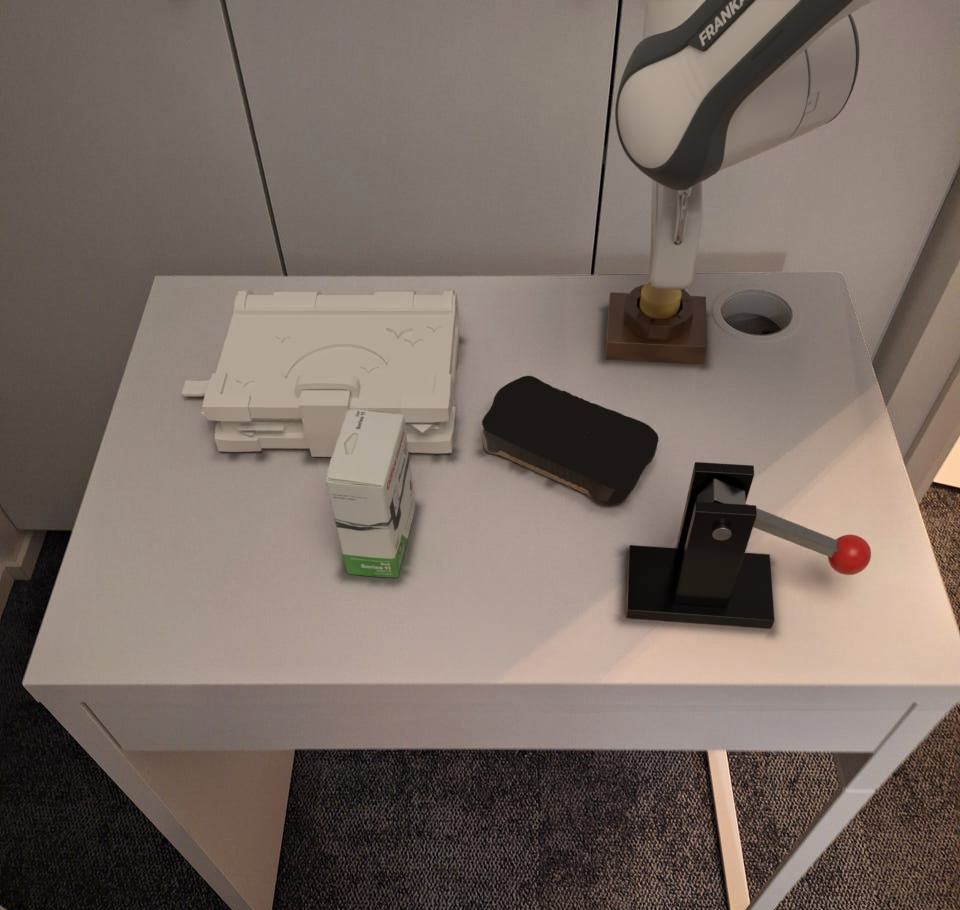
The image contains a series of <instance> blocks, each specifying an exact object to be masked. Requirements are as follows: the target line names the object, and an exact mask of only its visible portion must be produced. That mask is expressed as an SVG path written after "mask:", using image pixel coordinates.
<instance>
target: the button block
mask: <svg viewBox="0 0 960 910" xmlns="http://www.w3.org/2000/svg"><path fill="white" fill-rule="evenodd" d="M644 285H645V284H640V285H639V286H635V287H634V288H633V289H632V290H631V291H630V292H614V291H613V292H609V299H608V311H607V326H606V341H605V360H613V361H637V362H638V361H639V362H654V363H655V362H656V363H675V364H695V365H696V364H698V365H704V364H705V360H706V356H707V351H708V319H707V317H708V316H707V296H705V295H704V296H703V295H690V293H688V291H687V289H684V290H681V293H682V295H681V301H680V307H679V310H678V312H677V313H676V314H675V315H674V316H672V317H670V318H667V319H658V318H651V317H649V316H647V315H645V314H644V313H643V312H642V311H641V309H640V298H641V290H642V288H643V286H644Z"/></svg>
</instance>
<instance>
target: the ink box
mask: <svg viewBox="0 0 960 910" xmlns="http://www.w3.org/2000/svg"><path fill="white" fill-rule="evenodd" d="M325 484H326V489H327V493H328V497H329V503H330V506H331V507H330V508H331V511H332V516H333V520H334V523H335V529H336V532H337V537H338V543H339V546H340V550H341V554H342V559H343V563H344V567H345V571H346V573H347V574H348V575H355V576H356V575H357V576H365V577H375V578H398V577H399V575H400V571H401V568H402V562H403V560H404V555H405V552H406V547H407V543H408V539H409V536H410V535H409V534H410V531H411V526H412V523H413V518H414V515H415V511H416V503H415V496H414V495H415V494H414V486H413V478H412V468H411V461H410V452H408V443H407V434H406V425H405V417H404V414H401V413H395V412H389V411H381V410H373V409H363V408H354V407H353V408H351V409H350V410H349V411H348V412H347V413H346V416H345V420H344V422H343V425H342V428H341V432H340V435H339V437H338V440H337V442H336V445H335V450H334V453H333V455H332V457H330V461H329V465H328V468H327V471H326V476H325Z"/></svg>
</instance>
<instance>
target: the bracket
mask: <svg viewBox="0 0 960 910" xmlns="http://www.w3.org/2000/svg"><path fill="white" fill-rule="evenodd" d="M754 477H755V465H752V464H738V463H737V464H735V463H732V464H731V463H719V462H699V461H695V462H694V465H693V469H692V474H691V478H690V482H689V487H688V491H687V496H686V501H685V505H684V509H683V514H682V518H681V522H680V527H679V531H678V536H677V541H676V545H675V547H669V546H668V547H666V546H651V545H639V544H638V545H637V544H635V545H634V544H630V545H629V546H628V552H627V556H628V557H627V575H626V576H627V577H626V578H627V580H626V609H625V610H626V612H625V618H626V619H633V620H648V621H661V622H674V623H687V624H688V623H689V624H703V625H713V626H714V625H716V626H728V627H729V626H730V627H743V628H756V629H770V630H771V629H772V627H773V625H774V623H775V621H776V620H775V607H774V593H773V580H772V579H773V578H772V564H771V554H770V553H757V552H746V551H747V547H748V544H749V541H750V538H751V535H752V531H753V530H754V529H753V528H754V527H753V526H754V523H755V520H756V516H757V510H756V508H757V505H754V504H748V505H741V504H725V503H709V502H697V496H698V494H699V493H700V492H701V491H702V490H703V489H704V488H705V487H706V486H707V485H708V484H709V483H710V482H711V481H712V480H713V479H714V478H715V479H717V480H720V481H722V482H725V483H727V484H730V485H732V486H735V487H737V488H740V489H742V490H744V491H745V501H746V502H747V500H748V497H749V493H750V491H751V487H752V484H753V481H754Z"/></svg>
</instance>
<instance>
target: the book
mask: <svg viewBox="0 0 960 910" xmlns="http://www.w3.org/2000/svg"><path fill="white" fill-rule="evenodd" d="M459 311H460V310H459V299H458V293H456V291H455V289H444V290H443V291H442V293H417V291H416V290H376V291H374V293H322V291H321V290H277V291H274V293H254V291H253V290H252V289H241V290H238V293H237V294H236V295H235V298H234V302H233V312H232V316H231V319H230V322H229V325H228V330H227V333H226V336H225V340H224V343H223V347H222V350H221V353H220V357H219V360H218V363H217V367H216V371H215V372H212V374H211V376H210V378H209V379H208V380H185V381H184V384H183V388H182V390H181V396H182V397H203V400H202V401H203V402H202V406H201V408H202V411H201V412H200V414H201V415H203V416H205V418H206V420H208V421H216V424H215V430H214V438H213V439H214V443H215V445H216V447H217V451H218V452H227V453H228V452H229V453H243V452H262V450H263V449H309V452H310V456H311V457H312V458H332V455H333V453H334V450H335V445H336V442H337V440H338V437H339V435H340V432H341V428H342V425H343V422H344V420H345V416H346V413H347V412H348V411H349V410H350V409H351V408H353V407H354V408H363V409H373V410H381V411H389V412H395V413H401V414H404V417H405V425H406V434H407V443H408V452H409V453H417V454H418V453H419V454H436V455H437V454H439V455H440V454H452V453H453V447H454V437H455V436H454V432H455V415H456V405H454V400H455V387H456V375H457V364H458V352H459V344H460V319H459V318H460V314H459Z"/></svg>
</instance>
